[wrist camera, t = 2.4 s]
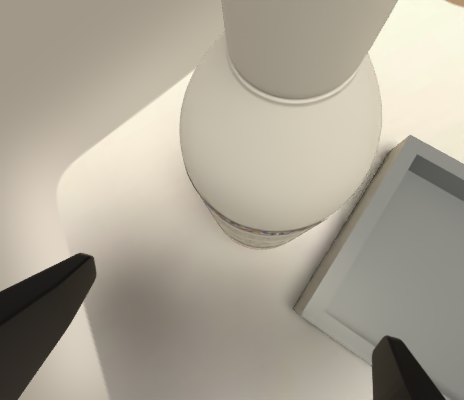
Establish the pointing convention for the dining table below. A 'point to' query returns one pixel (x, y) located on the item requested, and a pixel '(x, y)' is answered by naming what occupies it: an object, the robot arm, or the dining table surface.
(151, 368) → the dining table surface
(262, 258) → the dining table surface
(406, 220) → the grey square tray
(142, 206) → the dining table surface
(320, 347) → the dining table surface
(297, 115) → the bath foam
